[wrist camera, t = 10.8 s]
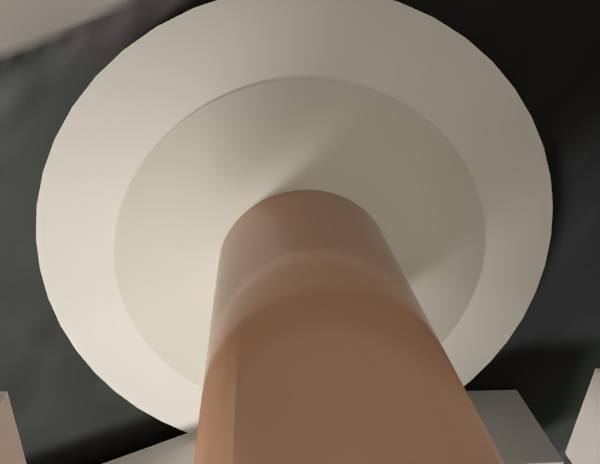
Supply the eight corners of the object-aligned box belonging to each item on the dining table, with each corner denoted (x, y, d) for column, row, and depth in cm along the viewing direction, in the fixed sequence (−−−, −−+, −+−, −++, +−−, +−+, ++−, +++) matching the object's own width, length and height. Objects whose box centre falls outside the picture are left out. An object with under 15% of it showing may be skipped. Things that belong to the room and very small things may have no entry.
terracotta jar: (220, 340, 19) (180, 785, 8) (215, 188, 16) (147, 552, 6) (378, 337, 20) (529, 750, 9) (397, 189, 17) (638, 524, 6)
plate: (86, 438, 22) (78, 460, 21) (-5, -28, 14) (-25, -29, 13) (486, 424, 24) (497, 444, 23) (598, -2, 16) (622, -1, 15)
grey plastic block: (417, 455, 24) (445, 535, 21) (429, 390, 23) (462, 466, 19) (497, 452, 25) (538, 530, 21) (515, 388, 23) (563, 462, 19)
